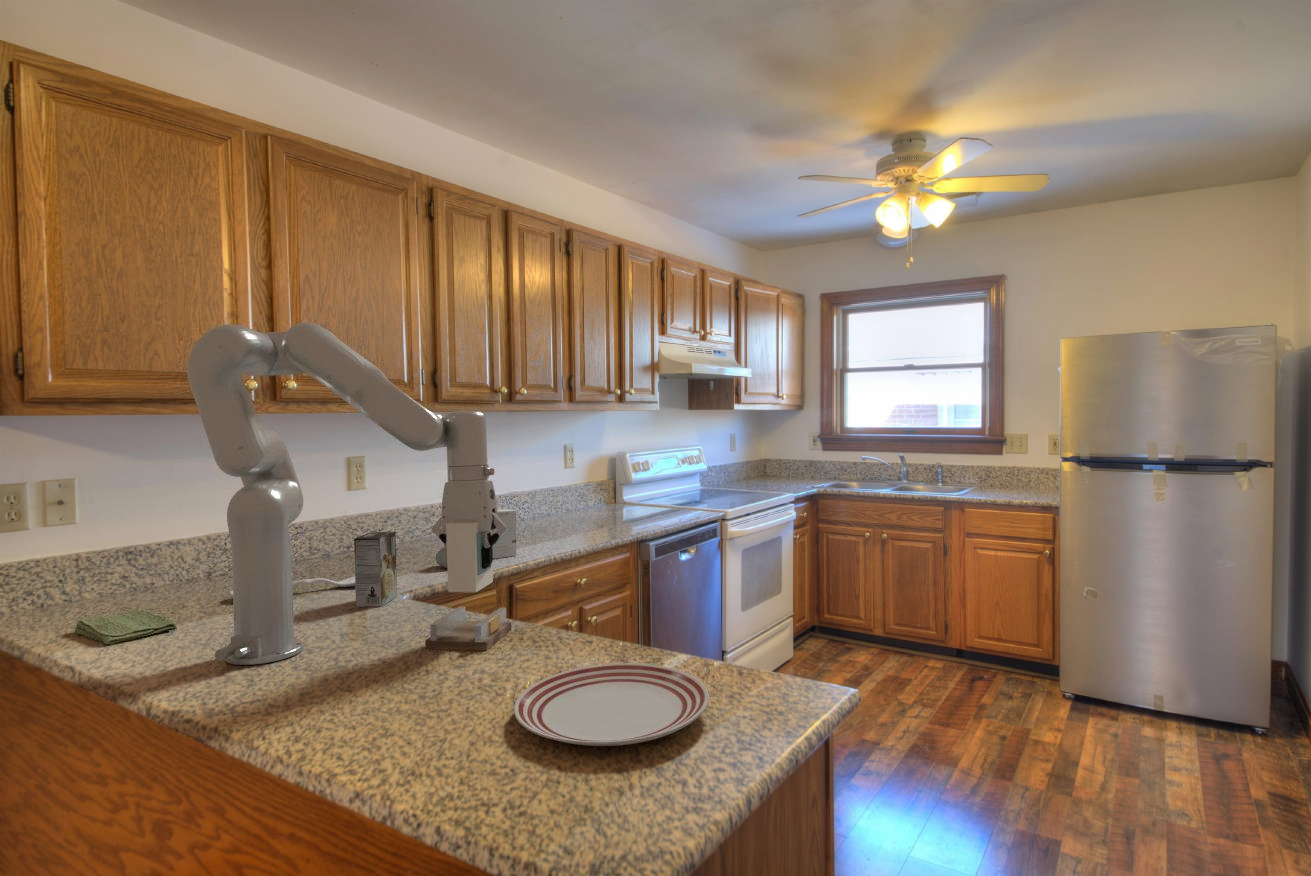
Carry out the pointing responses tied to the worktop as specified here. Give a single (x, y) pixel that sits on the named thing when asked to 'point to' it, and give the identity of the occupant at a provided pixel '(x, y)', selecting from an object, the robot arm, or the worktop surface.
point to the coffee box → (375, 568)
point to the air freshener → (442, 557)
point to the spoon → (342, 583)
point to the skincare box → (506, 535)
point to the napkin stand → (467, 638)
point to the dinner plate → (611, 704)
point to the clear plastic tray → (458, 618)
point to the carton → (465, 558)
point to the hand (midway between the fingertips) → (470, 566)
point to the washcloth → (124, 626)
